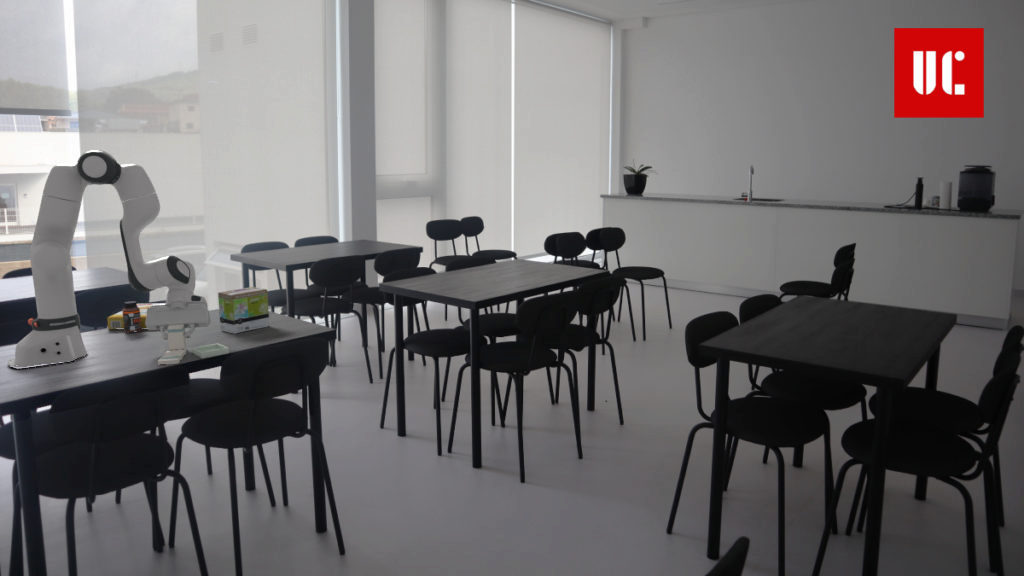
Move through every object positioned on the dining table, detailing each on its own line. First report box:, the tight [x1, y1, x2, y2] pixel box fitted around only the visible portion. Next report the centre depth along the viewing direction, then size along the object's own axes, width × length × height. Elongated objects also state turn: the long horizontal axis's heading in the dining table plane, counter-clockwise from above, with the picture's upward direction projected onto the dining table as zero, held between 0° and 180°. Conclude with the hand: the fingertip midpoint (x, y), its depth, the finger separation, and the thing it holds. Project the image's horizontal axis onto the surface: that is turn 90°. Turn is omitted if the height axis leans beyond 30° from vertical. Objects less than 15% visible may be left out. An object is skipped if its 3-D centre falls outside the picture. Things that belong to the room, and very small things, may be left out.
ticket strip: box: [157, 349, 187, 366], centre depth 251 cm, size 6×13×1 cm, turn 11°
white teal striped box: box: [166, 324, 188, 351], centre depth 259 cm, size 5×4×9 cm
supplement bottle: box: [121, 300, 143, 333], centre depth 289 cm, size 6×6×11 cm
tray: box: [191, 343, 230, 359], centre depth 257 cm, size 9×9×2 cm
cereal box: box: [106, 302, 166, 331], centre depth 307 cm, size 20×6×28 cm
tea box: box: [217, 286, 270, 335], centre depth 290 cm, size 15×10×15 cm, turn 143°
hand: (176, 338), depth 258 cm, fingers open, 6 cm apart
